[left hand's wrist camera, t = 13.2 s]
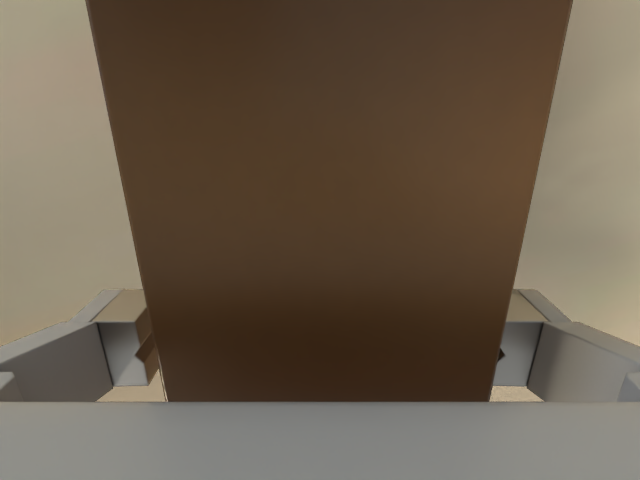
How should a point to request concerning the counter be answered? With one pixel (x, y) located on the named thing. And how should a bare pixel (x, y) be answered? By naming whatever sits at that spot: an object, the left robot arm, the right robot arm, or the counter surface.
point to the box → (328, 187)
